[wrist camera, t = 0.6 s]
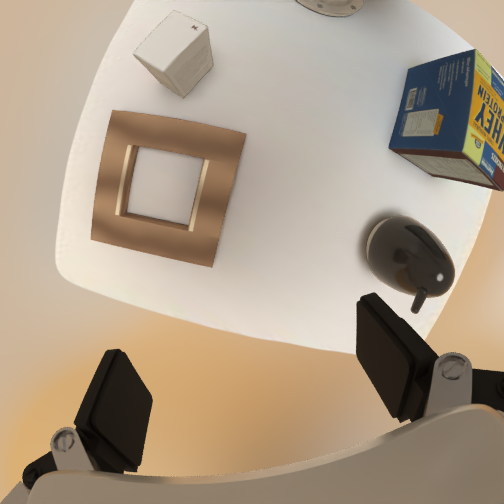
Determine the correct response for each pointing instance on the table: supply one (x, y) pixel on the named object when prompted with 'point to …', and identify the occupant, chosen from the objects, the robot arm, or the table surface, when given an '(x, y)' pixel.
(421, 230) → the pump dispenser
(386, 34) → the table surface
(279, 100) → the table surface
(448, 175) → the protein box
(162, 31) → the skincare box
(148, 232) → the wooden square frame
